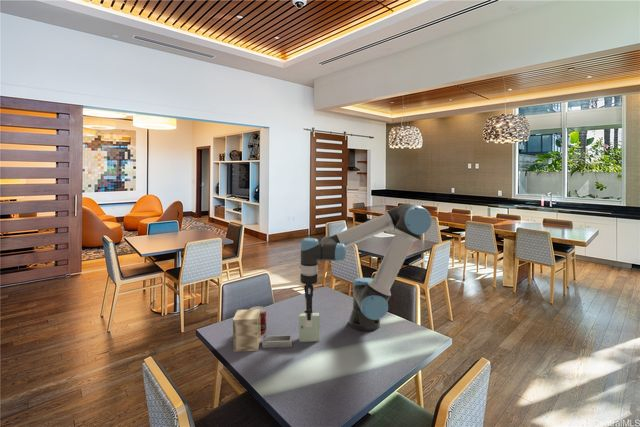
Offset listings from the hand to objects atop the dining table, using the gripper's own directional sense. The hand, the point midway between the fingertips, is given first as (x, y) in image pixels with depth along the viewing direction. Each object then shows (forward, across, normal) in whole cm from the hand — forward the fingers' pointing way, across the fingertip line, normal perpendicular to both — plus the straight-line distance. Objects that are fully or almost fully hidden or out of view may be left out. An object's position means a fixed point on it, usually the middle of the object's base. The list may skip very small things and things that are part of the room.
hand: (308, 319), depth 146 cm
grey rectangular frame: (+10, +3, -13) cm, 17 cm away
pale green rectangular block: (+10, 0, +1) cm, 10 cm away
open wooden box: (+10, +3, -26) cm, 28 cm away
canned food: (+10, -9, -23) cm, 27 cm away
